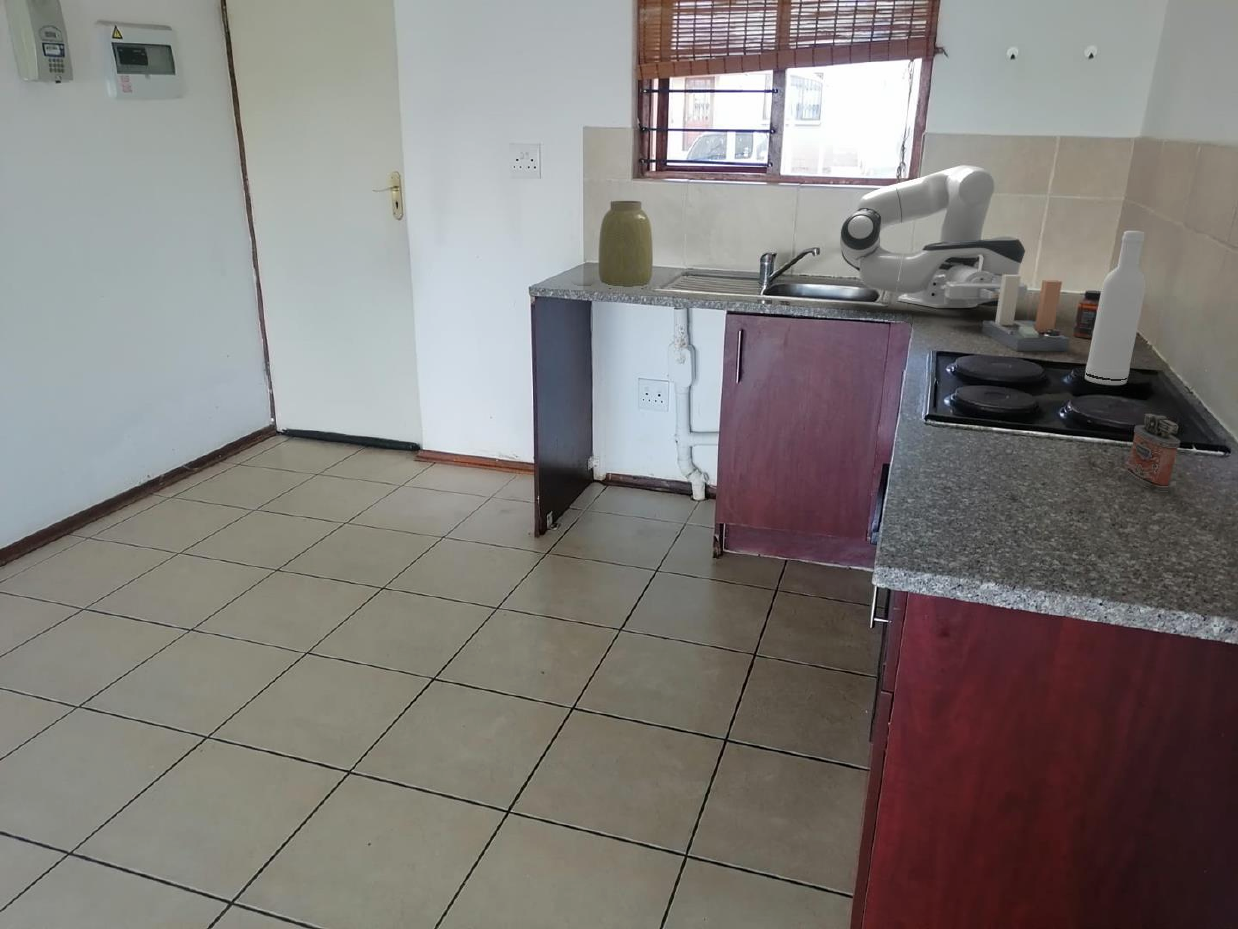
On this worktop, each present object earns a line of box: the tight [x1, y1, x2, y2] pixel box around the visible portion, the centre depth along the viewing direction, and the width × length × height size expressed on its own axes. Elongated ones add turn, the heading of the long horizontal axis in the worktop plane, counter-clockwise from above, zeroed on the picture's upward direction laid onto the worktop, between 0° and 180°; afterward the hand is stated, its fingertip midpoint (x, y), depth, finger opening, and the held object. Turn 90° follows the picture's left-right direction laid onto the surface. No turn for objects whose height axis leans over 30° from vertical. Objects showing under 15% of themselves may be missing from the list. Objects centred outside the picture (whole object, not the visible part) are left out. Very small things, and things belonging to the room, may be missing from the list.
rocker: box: [1018, 327, 1039, 338], centre depth 212 cm, size 4×3×1 cm
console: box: [981, 319, 1070, 352], centre depth 221 cm, size 21×12×4 cm, turn 0°
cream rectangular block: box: [994, 274, 1021, 325], centre depth 223 cm, size 2×4×12 cm
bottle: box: [1084, 230, 1147, 386], centre depth 182 cm, size 8×8×30 cm
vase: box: [598, 200, 654, 289], centre depth 286 cm, size 17×17×27 cm
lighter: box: [1124, 413, 1181, 493], centre depth 132 cm, size 8×3×10 cm, turn 5°
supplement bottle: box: [1073, 289, 1101, 339], centre depth 225 cm, size 6×6×11 cm
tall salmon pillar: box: [1035, 279, 1063, 332], centre depth 215 cm, size 2×4×12 cm
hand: (996, 295), depth 230 cm, fingers closed
